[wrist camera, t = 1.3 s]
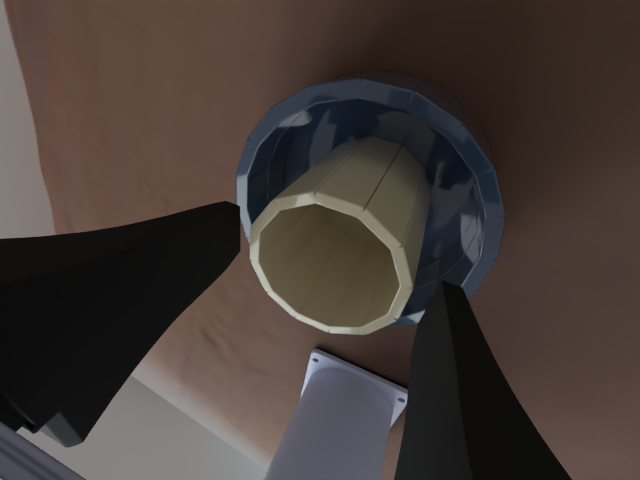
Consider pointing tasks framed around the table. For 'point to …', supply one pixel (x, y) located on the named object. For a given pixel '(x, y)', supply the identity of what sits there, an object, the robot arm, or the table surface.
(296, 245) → the small pot
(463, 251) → the big pot
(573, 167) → the table surface
